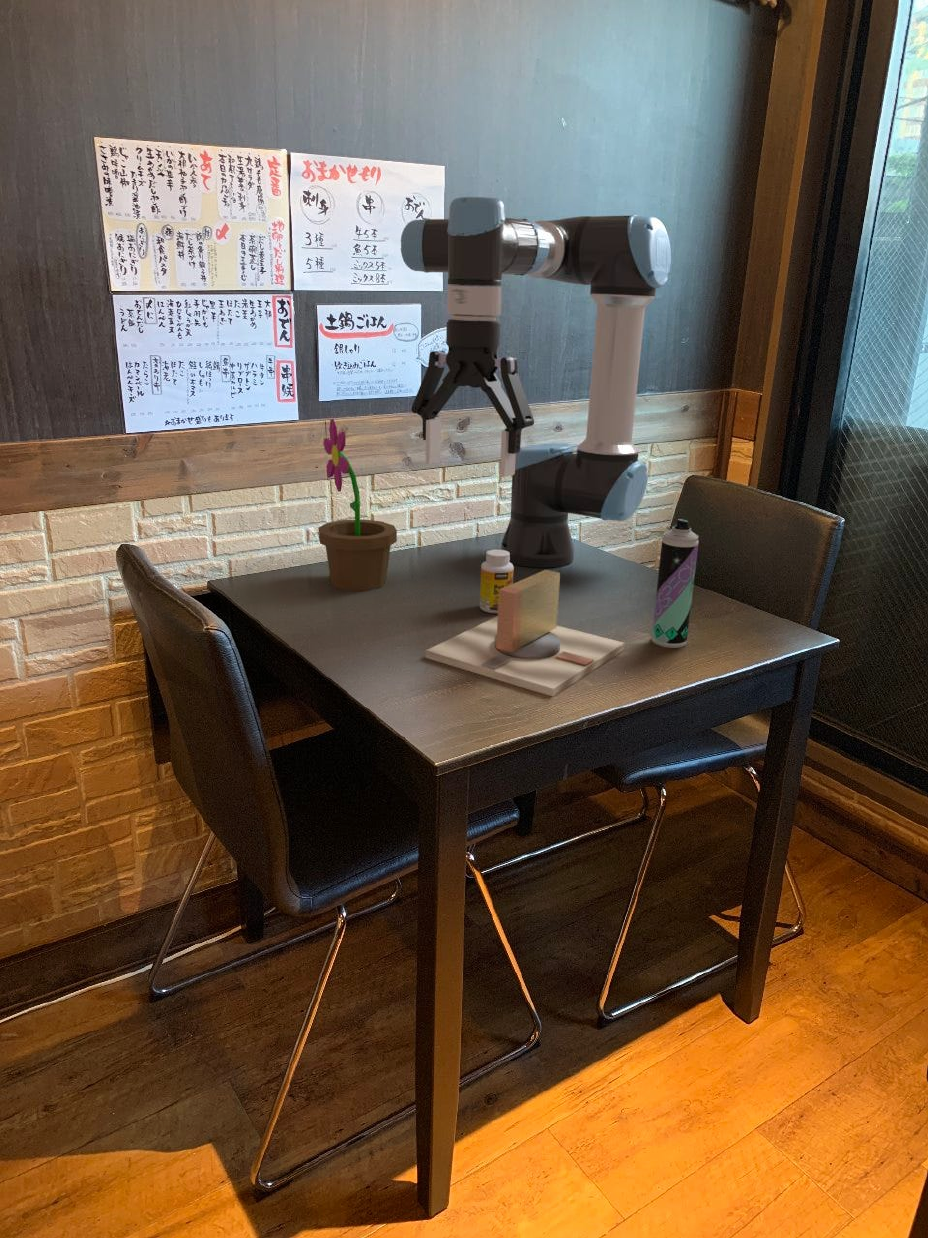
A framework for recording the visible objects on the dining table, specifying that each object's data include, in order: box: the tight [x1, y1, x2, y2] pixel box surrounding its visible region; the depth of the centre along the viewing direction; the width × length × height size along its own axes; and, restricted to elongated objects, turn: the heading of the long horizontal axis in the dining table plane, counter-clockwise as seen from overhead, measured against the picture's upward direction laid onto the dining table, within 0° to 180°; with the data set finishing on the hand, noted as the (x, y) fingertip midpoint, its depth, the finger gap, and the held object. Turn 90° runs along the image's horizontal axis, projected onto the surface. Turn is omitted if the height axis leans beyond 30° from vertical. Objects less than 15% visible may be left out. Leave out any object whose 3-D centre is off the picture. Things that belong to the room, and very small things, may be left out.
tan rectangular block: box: [496, 569, 561, 653], centre depth 140 cm, size 13×3×9 cm, turn 145°
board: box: [425, 615, 626, 698], centre depth 142 cm, size 22×22×2 cm
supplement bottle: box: [479, 549, 515, 615], centre depth 159 cm, size 6×6×10 cm
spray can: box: [651, 518, 699, 649], centre depth 145 cm, size 6×6×20 cm
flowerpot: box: [318, 418, 398, 592], centre depth 168 cm, size 14×14×30 cm
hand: (469, 469), depth 138 cm, fingers open, 13 cm apart
